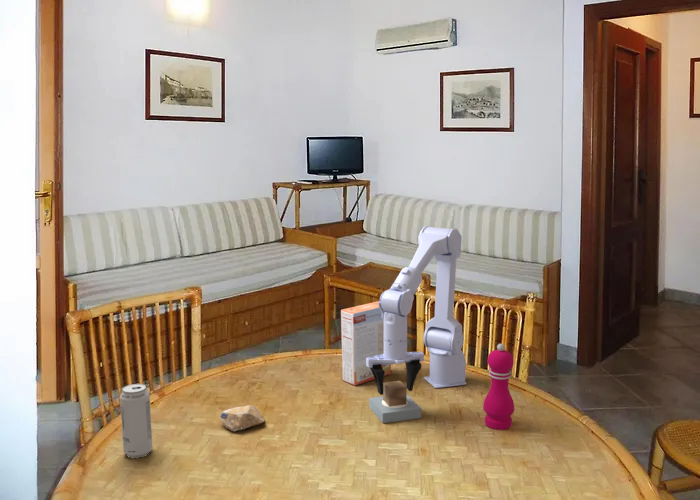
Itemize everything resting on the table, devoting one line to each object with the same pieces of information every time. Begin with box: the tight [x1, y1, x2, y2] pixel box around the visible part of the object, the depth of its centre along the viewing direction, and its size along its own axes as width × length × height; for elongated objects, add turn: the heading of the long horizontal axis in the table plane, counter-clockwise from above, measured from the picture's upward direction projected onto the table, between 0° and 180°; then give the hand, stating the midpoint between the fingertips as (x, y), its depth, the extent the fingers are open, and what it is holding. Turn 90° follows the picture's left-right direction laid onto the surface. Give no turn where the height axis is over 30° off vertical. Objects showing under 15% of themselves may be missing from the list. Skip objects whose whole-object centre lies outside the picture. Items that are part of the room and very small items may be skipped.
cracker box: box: [340, 300, 392, 387], centre depth 190 cm, size 14×6×21 cm, turn 130°
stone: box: [219, 404, 266, 432], centre depth 161 cm, size 8×10×4 cm
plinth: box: [368, 394, 422, 424], centre depth 168 cm, size 10×10×3 cm
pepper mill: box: [482, 343, 515, 431], centre depth 159 cm, size 7×7×20 cm
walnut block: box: [382, 380, 408, 407], centre depth 167 cm, size 4×4×4 cm
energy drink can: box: [119, 383, 153, 459], centre depth 146 cm, size 6×6×15 cm
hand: (395, 391), depth 167 cm, fingers open, 7 cm apart
